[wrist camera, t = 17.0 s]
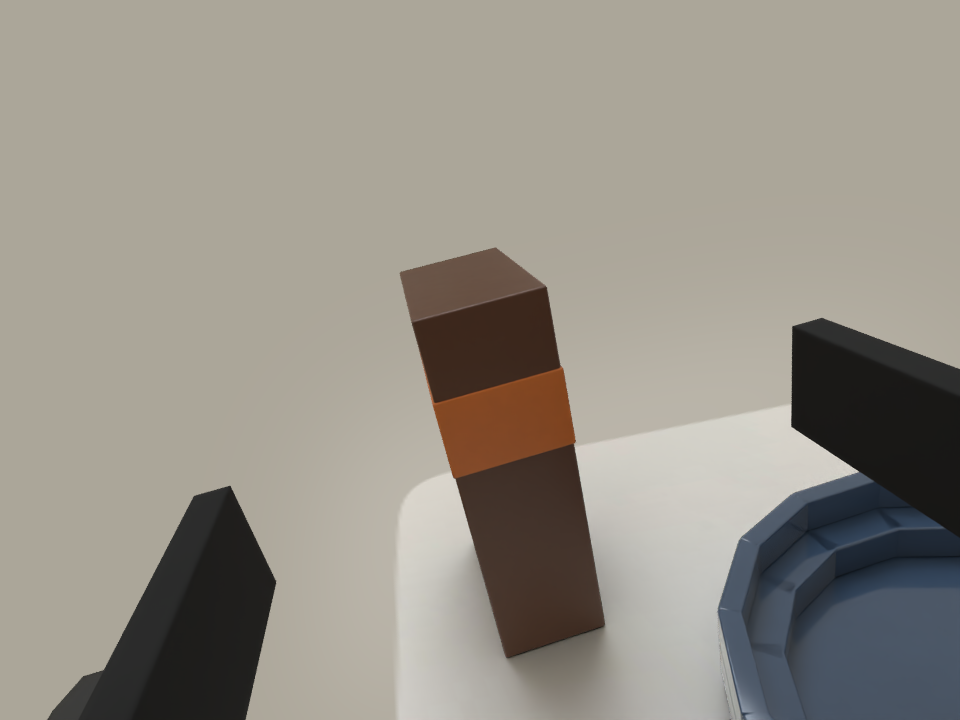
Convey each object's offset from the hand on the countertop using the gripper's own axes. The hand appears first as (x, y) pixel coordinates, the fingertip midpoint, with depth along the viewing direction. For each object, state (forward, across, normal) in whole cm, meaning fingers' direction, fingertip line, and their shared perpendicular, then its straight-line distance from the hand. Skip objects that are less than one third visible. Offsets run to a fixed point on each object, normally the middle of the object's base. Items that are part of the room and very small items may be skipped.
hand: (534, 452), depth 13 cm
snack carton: (+5, 0, -9) cm, 10 cm away
